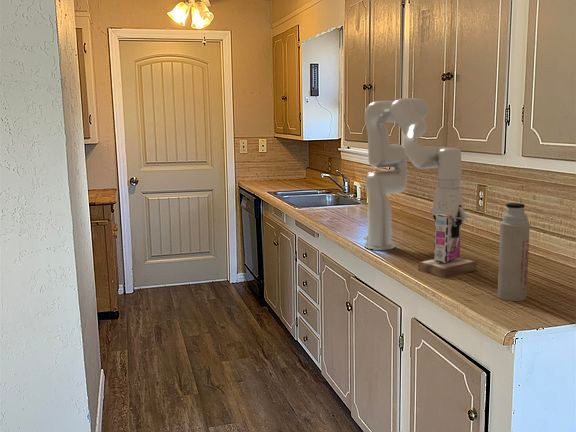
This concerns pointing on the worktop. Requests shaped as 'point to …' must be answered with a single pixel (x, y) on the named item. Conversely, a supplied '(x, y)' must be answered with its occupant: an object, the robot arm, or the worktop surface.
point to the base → (447, 267)
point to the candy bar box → (445, 240)
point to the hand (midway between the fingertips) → (447, 235)
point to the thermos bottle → (513, 253)
